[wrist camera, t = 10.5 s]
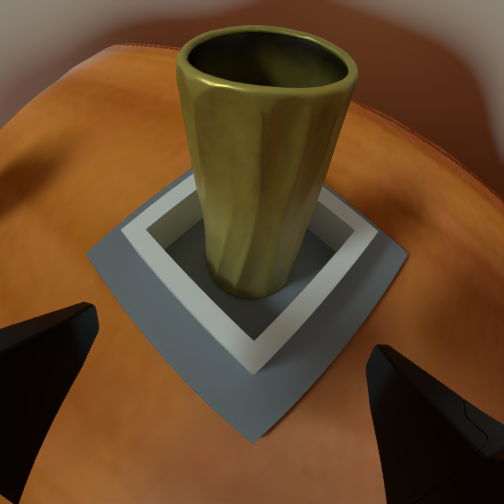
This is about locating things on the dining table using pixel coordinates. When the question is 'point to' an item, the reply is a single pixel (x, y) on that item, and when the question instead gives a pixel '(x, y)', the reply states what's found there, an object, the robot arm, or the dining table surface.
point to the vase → (260, 144)
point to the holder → (245, 302)
